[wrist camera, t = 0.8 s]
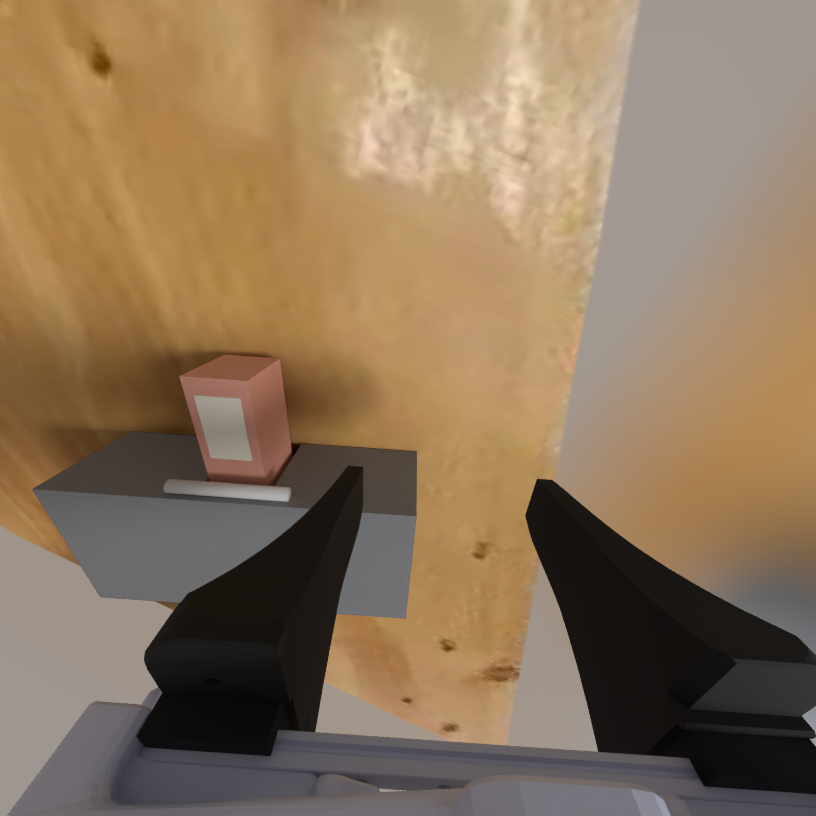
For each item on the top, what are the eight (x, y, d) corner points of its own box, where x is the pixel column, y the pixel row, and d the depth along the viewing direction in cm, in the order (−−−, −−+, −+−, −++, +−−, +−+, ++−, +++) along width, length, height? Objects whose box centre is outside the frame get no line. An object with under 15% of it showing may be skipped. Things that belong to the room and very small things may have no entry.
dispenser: (408, 542, 27) (405, 618, 21) (168, 525, 27) (100, 597, 21) (417, 442, 22) (417, 506, 17) (127, 422, 22) (24, 478, 17)
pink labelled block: (298, 501, 24) (276, 544, 20) (255, 498, 24) (225, 541, 20) (279, 358, 19) (246, 381, 15) (224, 354, 19) (177, 376, 15)
